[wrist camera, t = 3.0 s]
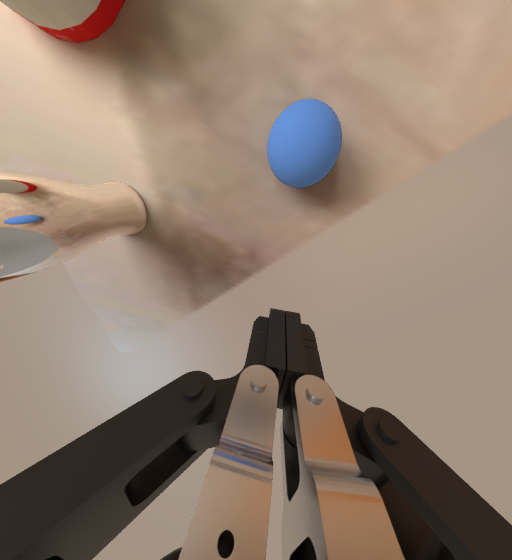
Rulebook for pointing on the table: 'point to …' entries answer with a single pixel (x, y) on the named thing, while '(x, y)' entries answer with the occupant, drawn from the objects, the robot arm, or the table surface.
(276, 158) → the ball
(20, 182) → the beer glass
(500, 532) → the robot arm
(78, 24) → the kitchen timer
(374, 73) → the table surface
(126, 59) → the table surface
